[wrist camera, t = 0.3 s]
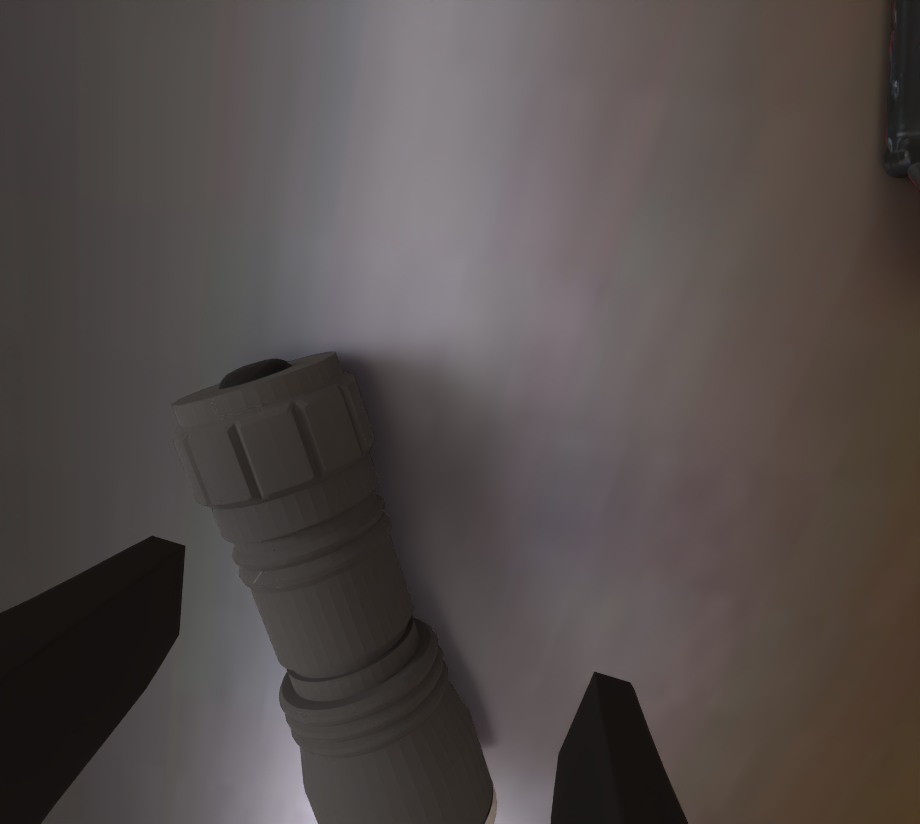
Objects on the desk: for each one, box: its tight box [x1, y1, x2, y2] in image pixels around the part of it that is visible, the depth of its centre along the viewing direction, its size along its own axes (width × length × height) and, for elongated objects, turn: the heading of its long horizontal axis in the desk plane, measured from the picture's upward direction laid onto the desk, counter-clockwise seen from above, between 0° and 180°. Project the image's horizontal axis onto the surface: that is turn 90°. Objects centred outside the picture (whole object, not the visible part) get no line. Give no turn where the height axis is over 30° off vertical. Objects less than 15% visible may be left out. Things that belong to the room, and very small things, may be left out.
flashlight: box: [172, 352, 497, 824], centre depth 21 cm, size 15×5×5 cm, turn 17°
